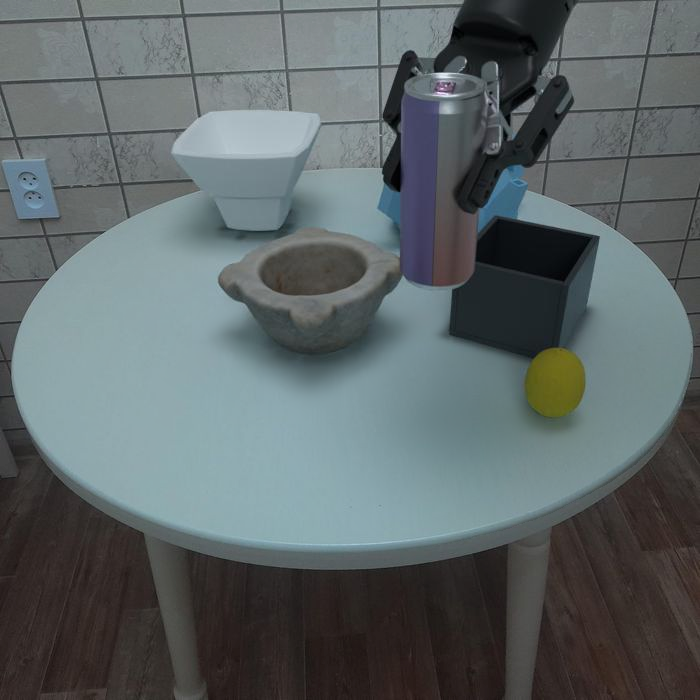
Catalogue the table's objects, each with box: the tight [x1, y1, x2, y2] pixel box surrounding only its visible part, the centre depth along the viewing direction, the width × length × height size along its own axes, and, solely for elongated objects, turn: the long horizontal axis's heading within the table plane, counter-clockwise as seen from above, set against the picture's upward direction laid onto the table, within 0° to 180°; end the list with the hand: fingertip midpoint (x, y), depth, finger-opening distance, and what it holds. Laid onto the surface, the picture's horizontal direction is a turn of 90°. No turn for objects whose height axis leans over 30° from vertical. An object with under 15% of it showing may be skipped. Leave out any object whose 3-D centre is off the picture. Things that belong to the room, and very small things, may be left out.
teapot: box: [376, 134, 529, 233], centre depth 101 cm, size 19×19×14 cm
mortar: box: [217, 226, 404, 355], centre depth 81 cm, size 17×17×9 cm
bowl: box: [170, 109, 322, 232], centre depth 104 cm, size 19×19×14 cm
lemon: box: [524, 348, 587, 419], centre depth 69 cm, size 6×6×8 cm
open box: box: [448, 215, 601, 359], centre depth 82 cm, size 12×12×10 cm
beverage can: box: [399, 73, 488, 292], centre depth 54 cm, size 6×6×15 cm
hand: (427, 197), depth 53 cm, fingers closed on beverage can, 6 cm apart
